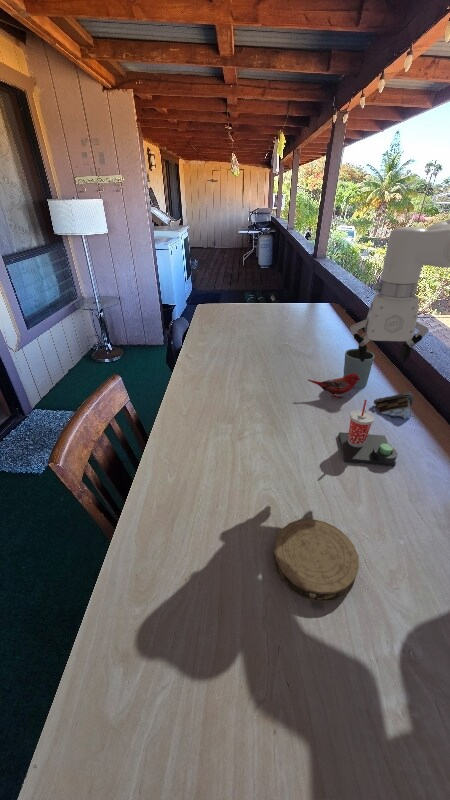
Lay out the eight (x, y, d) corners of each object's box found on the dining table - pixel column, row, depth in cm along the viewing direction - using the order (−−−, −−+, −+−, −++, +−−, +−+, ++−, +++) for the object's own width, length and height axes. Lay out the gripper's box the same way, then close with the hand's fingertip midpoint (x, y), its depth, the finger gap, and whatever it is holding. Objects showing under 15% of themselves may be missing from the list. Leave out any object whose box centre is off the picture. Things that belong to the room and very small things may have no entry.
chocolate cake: (372, 416, 114) (407, 401, 106) (371, 400, 118) (405, 385, 110) (389, 431, 117) (425, 418, 109) (387, 416, 122) (422, 402, 114)
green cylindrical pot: (368, 391, 127) (375, 361, 121) (339, 387, 130) (344, 357, 124) (367, 379, 135) (374, 350, 129) (340, 375, 138) (345, 347, 132)
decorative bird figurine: (357, 401, 121) (362, 376, 116) (305, 396, 124) (308, 371, 119) (356, 397, 123) (361, 372, 118) (305, 392, 127) (308, 368, 121)
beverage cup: (357, 434, 103) (367, 392, 96) (372, 446, 98) (383, 403, 91) (340, 438, 101) (348, 396, 94) (354, 451, 96) (364, 408, 89)
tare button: (389, 449, 95) (390, 443, 94) (392, 456, 92) (393, 451, 91) (377, 448, 95) (379, 443, 94) (380, 455, 93) (382, 450, 92)
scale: (385, 439, 103) (387, 431, 101) (397, 467, 92) (400, 459, 91) (338, 435, 104) (339, 427, 103) (344, 463, 94) (346, 454, 92)
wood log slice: (369, 558, 70) (372, 548, 68) (332, 621, 59) (334, 612, 58) (300, 516, 79) (301, 506, 77) (257, 564, 69) (258, 555, 67)
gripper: (360, 293, 75) (347, 365, 84) (445, 293, 73) (424, 367, 82) (353, 285, 82) (343, 353, 90) (432, 285, 80) (413, 354, 88)
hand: (381, 359), depth 86 cm, fingers open, 9 cm apart
